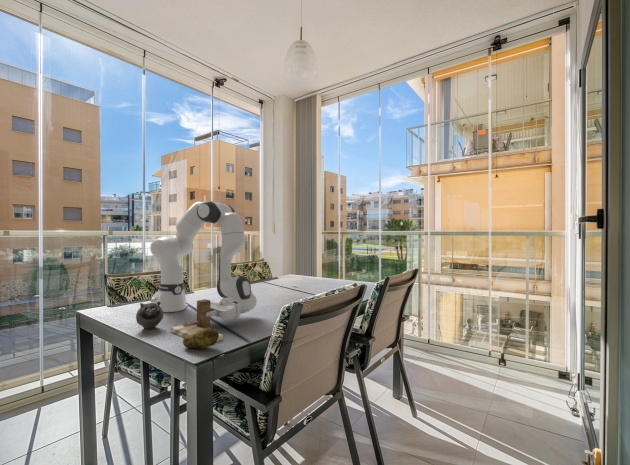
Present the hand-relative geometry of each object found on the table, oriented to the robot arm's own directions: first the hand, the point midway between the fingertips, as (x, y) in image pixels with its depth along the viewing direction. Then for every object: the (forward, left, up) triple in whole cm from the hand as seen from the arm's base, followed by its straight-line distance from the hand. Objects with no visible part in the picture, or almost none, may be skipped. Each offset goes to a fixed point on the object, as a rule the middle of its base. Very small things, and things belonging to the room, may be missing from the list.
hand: (201, 313), depth 138 cm
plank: (+4, -6, -7) cm, 10 cm away
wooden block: (0, -3, -7) cm, 7 cm away
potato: (+18, -13, -7) cm, 24 cm away
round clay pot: (-17, -14, -7) cm, 23 cm away
